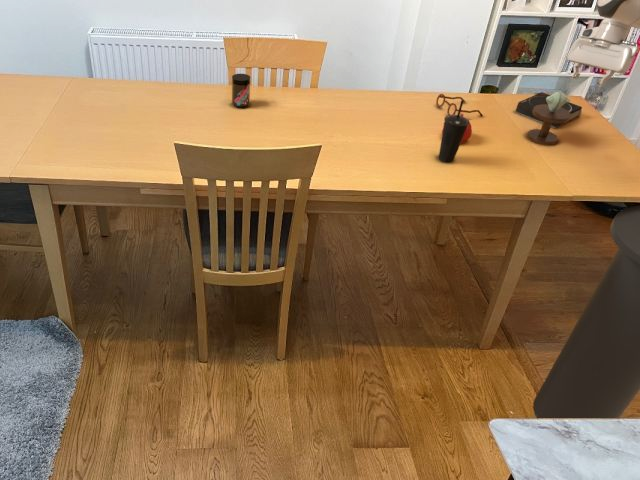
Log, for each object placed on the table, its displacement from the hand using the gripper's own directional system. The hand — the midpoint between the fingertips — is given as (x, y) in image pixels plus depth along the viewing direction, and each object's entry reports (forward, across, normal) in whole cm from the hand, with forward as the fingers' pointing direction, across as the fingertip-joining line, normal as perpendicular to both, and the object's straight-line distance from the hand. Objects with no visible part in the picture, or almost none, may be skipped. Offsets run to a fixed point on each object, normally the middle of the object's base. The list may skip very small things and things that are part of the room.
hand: (587, 81), depth 190 cm
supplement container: (+44, +74, +79) cm, 117 cm away
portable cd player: (+13, +20, -19) cm, 31 cm away
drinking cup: (+36, +10, +36) cm, 52 cm away
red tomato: (+30, +20, +25) cm, 44 cm away
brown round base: (+21, +7, -3) cm, 22 cm away
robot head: (+12, +6, +1) cm, 13 cm away
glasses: (+22, +37, +9) cm, 44 cm away
